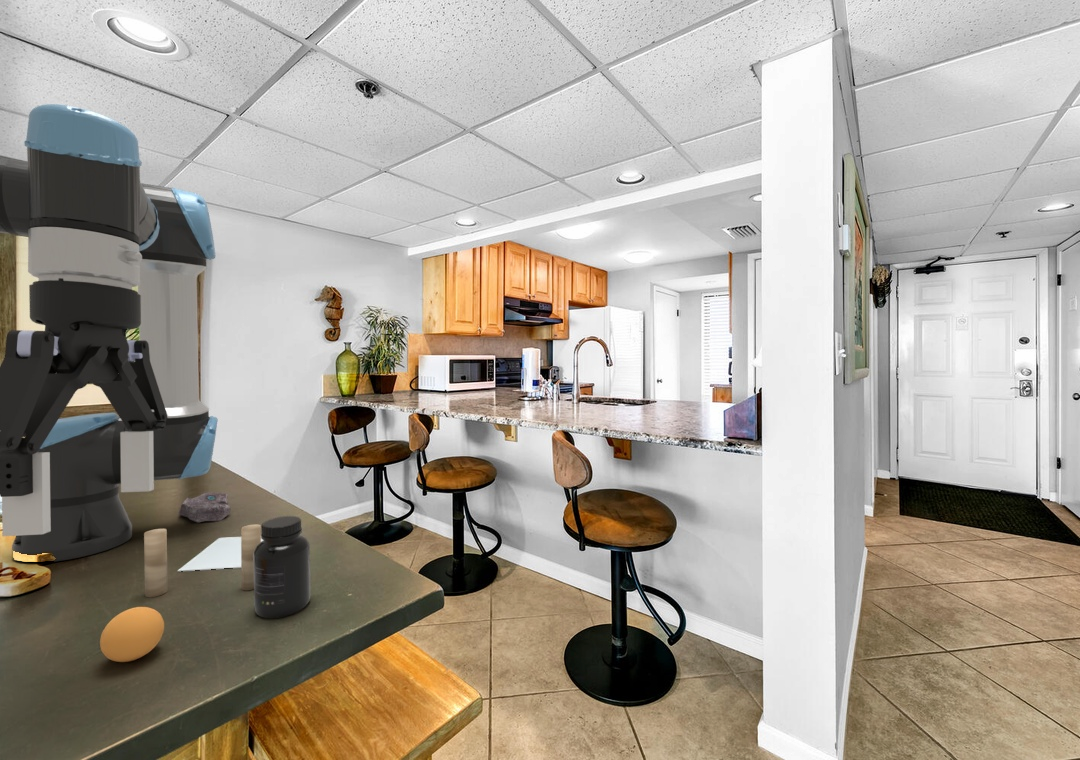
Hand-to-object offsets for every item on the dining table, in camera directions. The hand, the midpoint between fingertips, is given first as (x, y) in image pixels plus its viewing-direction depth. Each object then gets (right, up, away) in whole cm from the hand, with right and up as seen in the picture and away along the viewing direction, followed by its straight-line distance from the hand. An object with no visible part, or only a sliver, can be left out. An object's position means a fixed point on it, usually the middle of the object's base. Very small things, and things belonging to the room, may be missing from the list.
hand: (90, 509), depth 44 cm
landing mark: (-10, -18, +38) cm, 43 cm away
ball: (-4, -17, +9) cm, 19 cm away
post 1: (-13, -19, +23) cm, 32 cm away
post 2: (-1, -19, +26) cm, 32 cm away
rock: (-30, -17, +56) cm, 66 cm away
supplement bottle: (+7, -19, +20) cm, 29 cm away
